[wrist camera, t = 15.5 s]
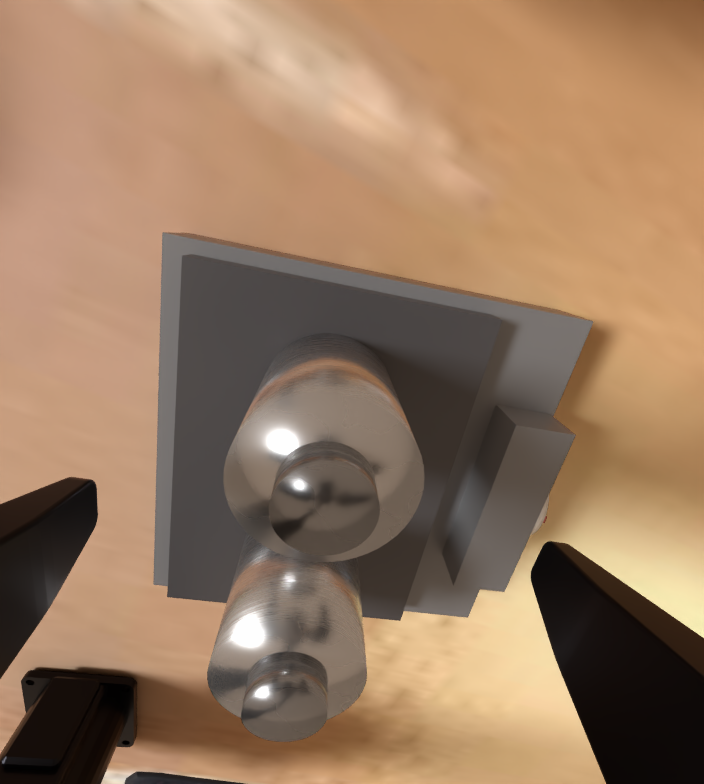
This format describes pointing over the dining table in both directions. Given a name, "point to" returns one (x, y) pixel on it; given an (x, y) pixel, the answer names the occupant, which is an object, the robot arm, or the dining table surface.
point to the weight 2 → (289, 643)
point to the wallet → (169, 779)
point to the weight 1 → (324, 454)
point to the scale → (415, 393)
